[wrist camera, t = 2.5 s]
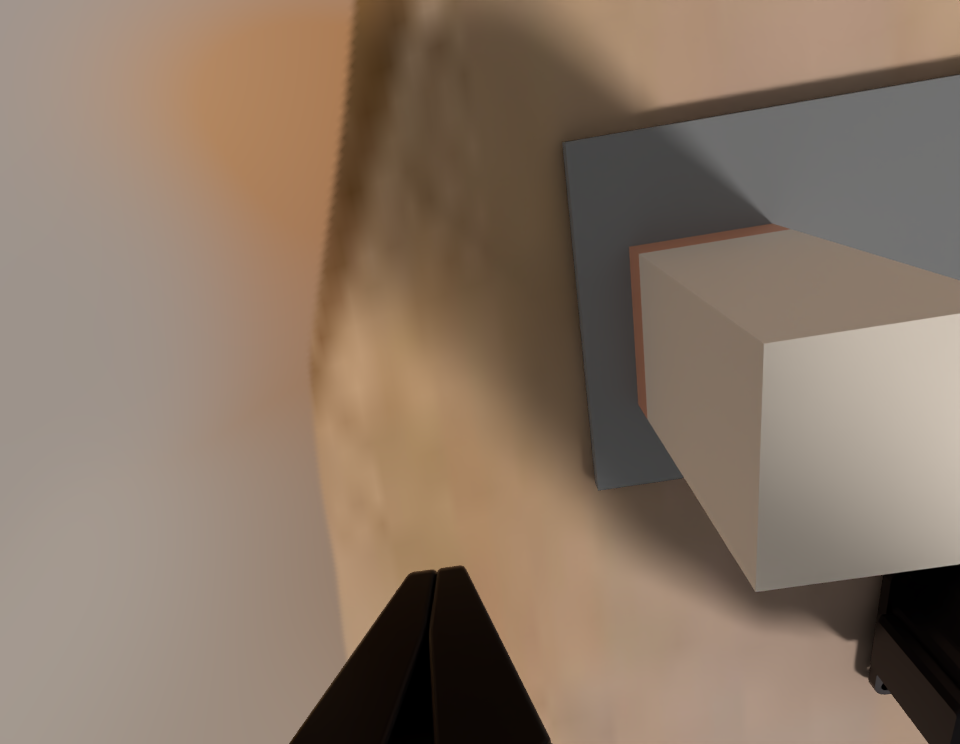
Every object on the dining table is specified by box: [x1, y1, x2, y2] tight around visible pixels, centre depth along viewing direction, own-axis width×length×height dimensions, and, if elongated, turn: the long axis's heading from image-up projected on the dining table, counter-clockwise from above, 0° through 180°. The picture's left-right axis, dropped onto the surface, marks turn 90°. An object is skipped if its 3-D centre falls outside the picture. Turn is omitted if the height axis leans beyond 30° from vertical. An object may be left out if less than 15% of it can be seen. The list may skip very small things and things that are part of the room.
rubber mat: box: [562, 74, 960, 491], centre depth 17 cm, size 13×11×1 cm
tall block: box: [629, 224, 960, 592], centre depth 13 cm, size 4×5×8 cm
